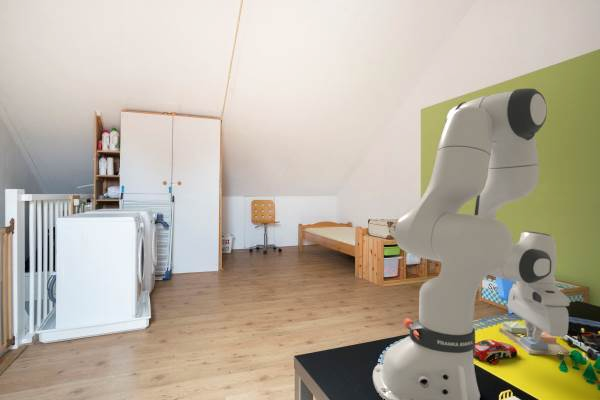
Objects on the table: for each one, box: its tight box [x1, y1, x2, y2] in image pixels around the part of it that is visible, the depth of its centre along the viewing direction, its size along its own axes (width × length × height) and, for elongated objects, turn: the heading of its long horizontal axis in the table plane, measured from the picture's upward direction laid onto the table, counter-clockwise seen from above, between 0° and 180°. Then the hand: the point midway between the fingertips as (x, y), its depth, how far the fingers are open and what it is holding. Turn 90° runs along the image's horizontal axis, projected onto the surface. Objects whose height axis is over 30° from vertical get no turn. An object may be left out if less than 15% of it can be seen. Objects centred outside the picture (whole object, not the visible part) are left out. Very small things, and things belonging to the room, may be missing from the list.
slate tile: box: [520, 337, 548, 350], centre depth 92 cm, size 5×5×2 cm
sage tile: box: [502, 321, 527, 333], centre depth 101 cm, size 5×5×2 cm
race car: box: [473, 339, 518, 362], centre depth 89 cm, size 13×5×4 cm, turn 105°
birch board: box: [498, 327, 572, 356], centre depth 97 cm, size 11×15×1 cm
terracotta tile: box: [540, 331, 557, 343], centre depth 97 cm, size 5×5×2 cm
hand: (533, 338), depth 92 cm, fingers closed
